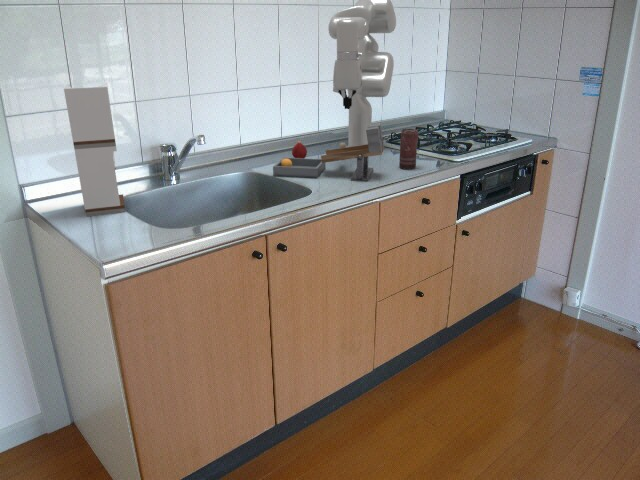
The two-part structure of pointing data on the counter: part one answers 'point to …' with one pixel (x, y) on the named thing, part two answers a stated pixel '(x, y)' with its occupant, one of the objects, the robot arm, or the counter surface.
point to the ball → (286, 163)
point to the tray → (300, 168)
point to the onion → (299, 151)
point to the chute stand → (362, 170)
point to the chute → (358, 147)
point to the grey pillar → (94, 148)
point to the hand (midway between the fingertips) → (347, 108)
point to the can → (408, 149)
